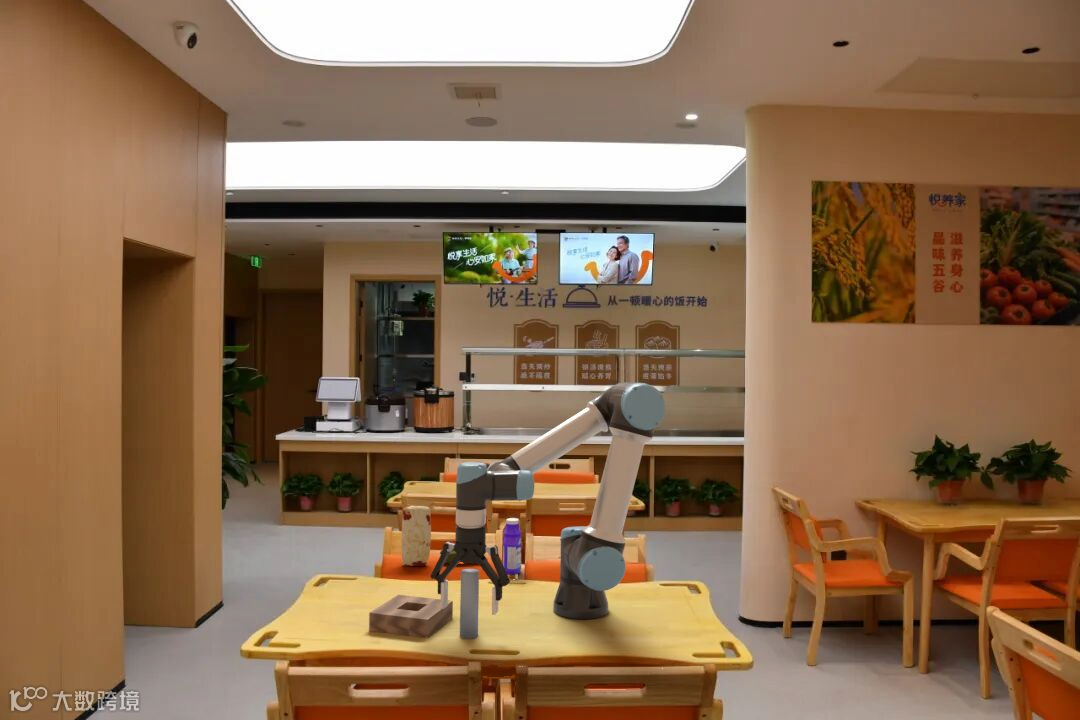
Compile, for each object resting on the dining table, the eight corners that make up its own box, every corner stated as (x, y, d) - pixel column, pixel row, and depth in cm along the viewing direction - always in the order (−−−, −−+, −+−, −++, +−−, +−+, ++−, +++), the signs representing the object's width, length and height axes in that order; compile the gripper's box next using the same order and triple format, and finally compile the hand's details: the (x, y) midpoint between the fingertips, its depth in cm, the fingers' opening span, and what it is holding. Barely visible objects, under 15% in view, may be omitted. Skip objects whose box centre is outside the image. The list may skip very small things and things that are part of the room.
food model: (399, 567, 257) (400, 506, 257) (402, 562, 263) (403, 503, 263) (429, 568, 257) (430, 507, 257) (431, 562, 263) (432, 503, 263)
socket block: (452, 617, 208) (452, 600, 208) (427, 637, 192) (427, 619, 192) (398, 611, 212) (398, 594, 212) (369, 630, 197) (369, 612, 197)
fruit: (459, 557, 272) (460, 538, 272) (485, 563, 265) (486, 543, 265) (436, 563, 263) (436, 544, 263) (462, 569, 256) (463, 549, 256)
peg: (480, 633, 196) (481, 569, 196) (474, 639, 192) (475, 574, 192) (463, 631, 197) (464, 568, 198) (457, 637, 193) (458, 572, 193)
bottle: (517, 576, 248) (518, 521, 248) (500, 575, 250) (501, 520, 250) (522, 570, 256) (523, 517, 256) (506, 569, 257) (506, 516, 257)
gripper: (522, 525, 195) (521, 610, 195) (431, 518, 202) (429, 600, 202) (513, 532, 188) (512, 620, 188) (418, 524, 195) (417, 609, 195)
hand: (469, 610), depth 195 cm, fingers open, 13 cm apart
